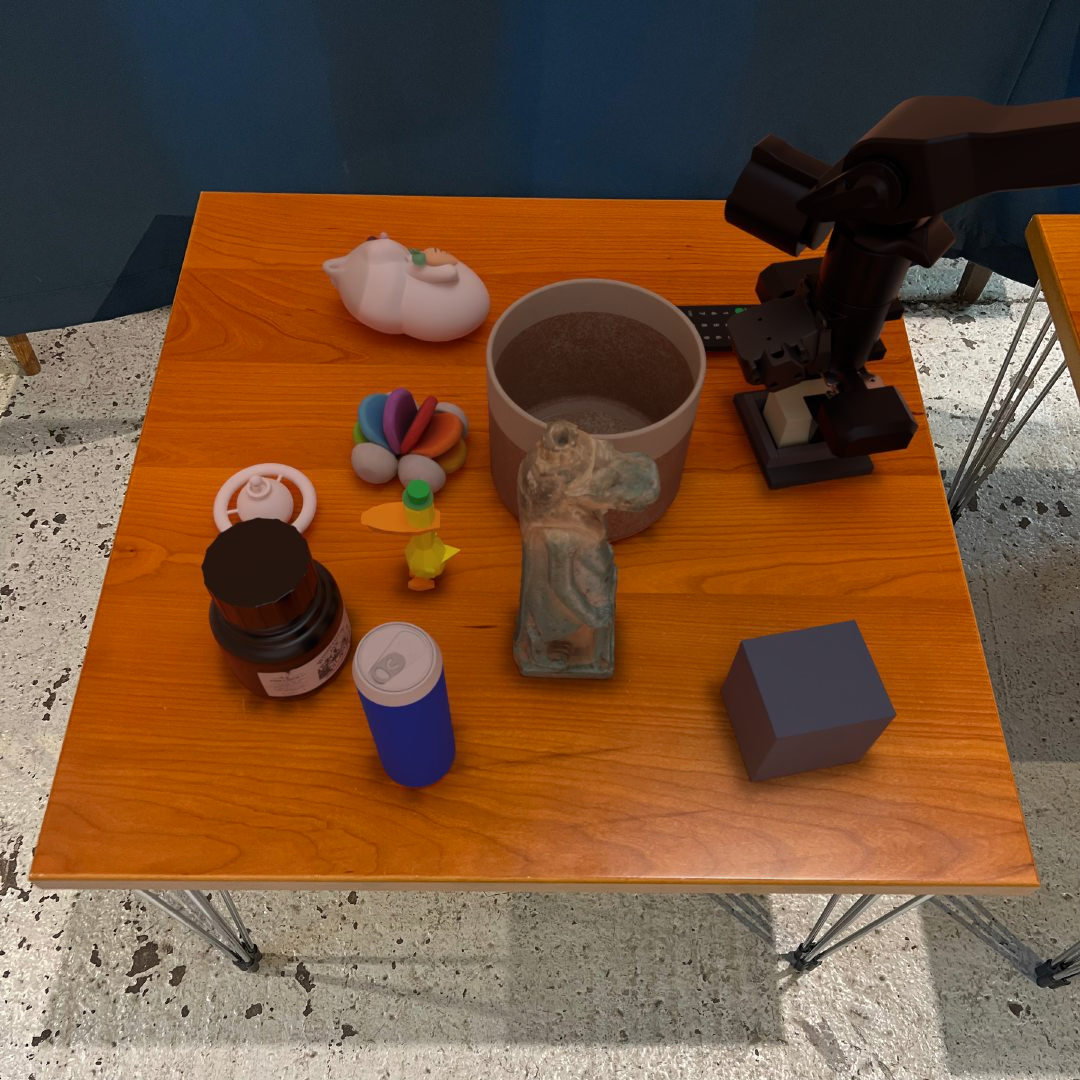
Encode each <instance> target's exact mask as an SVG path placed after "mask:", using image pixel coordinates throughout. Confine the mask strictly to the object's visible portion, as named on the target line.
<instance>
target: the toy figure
mask: <svg viewBox="0 0 1080 1080" xmlns="http://www.w3.org/2000/svg"><path fill="white" fill-rule="evenodd" d="M441 522H442V513H441V511H440V510H438V509H437V508H435V503H434V493H432V492H431V490H430V487H429V485H428V483H427V482H425V481H423V480H420V479H418V480H414V481H410V483H409V484H408V486H407V488H405V489H404V490H403V492H402V495H401V501H397V502H385V503H383V504H379V505H375V506H372V507H371V508H369V509H366V510H365V511H363V512H362V513H361V517H360V524H362V525H364V526H366V527H368V528H369V529H370V530H372V531H373V532H376V533H380V534H385V535H391V536H392V535H393V536H405V537H406V536H407V537H408V536H409V537H411V539H410V540H409V542H408V543H407V546H406V547H405V549H404V556H405V561H406V564H407V566H408V569H409V571H408V576H409V577H410V578H412V579H411V580H408V581H407V587H408V590H412V591H416V592H419V591H420V592H421V591H426V590H430V589H434V588H435V587H436V583H435V580H433V579H436V578H437V577H438V576H440V575H441V574H442V573H443V571H444V569H445V567H446V565H447V564H448V561H450V560H451V559H452V558H453V557H454V556H456V554H458V553H459V552H460V551H461V549H459V548H457V547H454V546H452V545H451V546H450V545H448V544H445V543H444V541H442V538H441V537H438V532H436V530H439V529H441V524H442V523H441Z"/></svg>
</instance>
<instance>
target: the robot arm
mask: <svg viewBox="0 0 1080 1080" xmlns="http://www.w3.org/2000/svg"><path fill="white" fill-rule="evenodd" d="M1073 186H1074V187H1075V186H1080V96H1078V97H1071V98H1064V99H1059V100H1058V99H1057V100H1049V101H1044V102H1036V103H1029V104H1023V105H1022V104H1021V105H997V104H992V103H990V102H987V101H984V100H982V99H979V98H976V97H973V96H968V95H967V96H963V95H917V96H914V97H911V98H908V99H905V100H904V101H902V102H900V103H898V104H897V105H896V106H895V107H894V108H893V109H892V110H891V111H890V112H888V113H887V115H885V116H884V117H883V118H882V119H880V120H879V121H878V122H877V124H875V125H874V126H873V127H871V129H869V130H868V132H866V133H865V134H864V135H863V136H862V137H861V138H860V139H859V140H857V142H855V143H854V144H853V145H852V146H851V147H850V149H849V151H848V152H847V153H846V154H845V155H843V156H842V157H841V158H840V159H839V160H838V161H837V162H836V163H835V164H833V165H831V164H829V163H827V162H825V161H823V160H821V159H818V158H816V157H814V156H812V155H810V154H808V153H806V152H804V151H801V150H799V149H798V148H795V146H794V147H793V146H792V145H791V144H789V143H788V142H787V141H785V140H784V139H783V138H780V137H778V136H776V135H774V134H773V133H769V134H767V135H766V136H765V137H764V138H762V139H761V140H760V141H759V142H758V143H756V144H755V145H754V146H753V147H752V151H751V155H750V158H749V161H747V163H746V164H745V166H744V167H743V169H742V171H741V173H740V175H739V176H738V178H737V180H736V181H735V184H734V186H733V188H732V191H731V192H730V193H729V194H728V196H727V197H726V200H725V203H724V211H723V216H724V220H725V223H728V224H729V225H731V226H733V227H735V228H737V229H739V230H741V231H743V232H745V233H747V234H749V235H750V236H752V237H754V238H756V239H758V240H760V241H762V242H764V243H766V244H768V245H770V246H771V247H774V248H775V249H777V250H779V251H780V252H783V253H785V254H786V255H789V256H791V257H795V258H796V259H794V260H787V261H786V260H785V261H778V262H773V263H770V264H769V265H768V266H766V267H765V268H764V269H763V270H761V271H760V272H759V273H758V277H757V281H756V283H755V288H754V292H755V294H756V296H757V298H758V300H759V302H760V303H759V304H760V305H757V306H755V307H752V308H749V309H747V310H744V311H742V312H739V313H737V314H735V315H733V316H732V317H730V319H729V320H728V322H727V329H728V333H729V337H730V341H731V345H732V349H733V352H732V353H733V355H734V357H735V359H736V361H737V364H738V366H739V368H740V371H741V373H742V376H743V378H744V381H745V382H746V383H747V384H748V385H750V386H755V387H757V386H764V389H766V390H767V392H771V393H776V392H778V391H781V390H784V389H786V388H789V387H792V386H794V385H797V384H799V383H801V382H802V381H807V380H814V379H820V378H823V380H824V382H825V385H826V386H827V387H831V390H832V391H830V390H828V391H826V393H823V394H816V395H810V396H803V399H804V401H805V403H806V405H807V407H808V410H809V412H810V414H811V416H812V421H811V425H810V429H809V436H808V442H809V444H813V443H819V442H823V441H826V443H827V445H828V447H829V449H830V451H831V454H832V455H835V456H837V457H839V458H841V459H845V458H851V457H857V456H864V455H869V456H870V455H875V454H876V455H877V454H884V453H889V452H894V451H895V452H896V451H899V450H900V451H901V450H906V449H907V450H908V447H909V445H910V443H911V441H912V440H913V438H914V436H915V434H916V432H917V431H918V429H919V427H920V425H919V423H918V421H917V420H916V418H915V415H914V414H913V412H912V411H911V409H910V407H909V405H908V403H907V401H906V400H905V398H904V395H903V394H902V391H900V389H898V388H897V387H896V386H895V385H893V384H891V385H886V384H885V383H884V381H883V380H882V377H880V376H879V375H878V374H876V373H871V372H870V371H869V370H868V369H867V366H866V364H867V363H868V362H869V363H870V362H877V361H883V360H884V358H885V357H886V354H887V351H888V349H887V348H886V346H885V344H884V342H883V340H882V338H881V335H882V332H883V330H884V328H885V326H886V323H887V322H892V321H899V320H902V317H903V315H904V313H905V310H906V308H905V306H904V304H903V302H902V301H901V299H900V298H899V296H898V295H899V292H900V290H901V288H902V286H903V283H904V280H905V279H906V275H907V274H908V271H909V269H910V267H911V264H912V263H913V264H916V265H917V266H919V267H920V268H921V267H922V268H924V269H926V270H927V269H931V268H933V267H934V265H935V264H937V262H938V261H939V260H940V258H942V256H943V255H944V254H945V253H946V252H947V251H948V250H949V249H950V248H951V247H952V246H953V245H954V243H955V242H956V239H957V238H956V235H955V233H954V232H953V231H952V229H951V227H950V226H949V225H948V224H947V223H946V222H945V221H944V219H943V213H945V212H947V211H949V210H952V209H955V208H957V207H959V206H961V205H962V206H963V205H964V204H966V203H968V202H972V201H973V200H975V199H978V198H981V197H985V196H988V195H992V194H997V193H1004V192H1015V191H1028V190H1039V189H1050V188H1063V187H1073ZM829 235H830V237H829ZM828 237H829V240H828V242H827V246H826V249H825V252H824V255H823V256H818V257H808V258H801V259H797V258H798V257H799V256H800V255H801V254H802V252H804V251H805V250H806V249H807V248H808V249H810V250H811V251H815V250H817V249H819V248H820V247H821V246H822V245H823V243H824V242H825V241H826V240H827V238H828Z"/></svg>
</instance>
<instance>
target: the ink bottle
mask: <svg viewBox="0 0 1080 1080" xmlns="http://www.w3.org/2000/svg"><path fill="white" fill-rule="evenodd" d="M232 525H233V526H231V527H230V528H228V529H227V530H225V531H223V532H219V533H218V534H217V535H216V537H215V538H214V540H213V541H212V542H211V544H209V546H208V547H207V548H206V549H205V554H204V558H203V562H202V563H201V566H200V567H201V571H202V577H203V584H204V586H205V588H206V590H207V591H208V594H209V596H210V597H211V600H210V603H209V609H208V621H209V627H210V630H211V633H212V636H213V638H214V640H215V641H216V643H217V645H218V647H219V649H220V651H221V652H222V654H223V656H224V658H225V659H226V661H227V663H228V664H229V666H230V668H231V671H232V672H233V673H234V675H235V677H236V678H237V680H238V681H239V682H240V683H241V684H242V685H243V686H244V687H245V688H247V689H248V690H249V691H251V692H252V693H255V694H256V695H258V696H260V697H262V698H263V697H264V698H266V699H270V700H275V701H295V700H301V699H304V698H306V697H310V696H312V695H314V694H315V693H317V692H319V691H320V690H322V689H323V688H325V687H326V686H327V685H329V684H330V683H331V682H332V681H333V680H334V679H335V678H336V677H337V676H338V675H339V674H340V672H341V671H342V669H343V668H344V667H345V665H346V663H347V661H348V659H349V657H350V654H351V651H352V645H353V631H352V626H351V622H350V619H349V616H348V612H347V609H346V606H345V602H344V600H343V599H344V598H343V596H342V593H341V590H340V588H339V587H340V586H339V584H338V582H337V580H336V578H335V577H334V575H333V574H332V573H331V571H329V569H328V568H327V567H326V566H325V565H324V564H322V563H321V562H320V561H319V560H317V559H315V558H314V557H313V555H312V551H311V548H310V546H309V543H308V540H307V538H306V537H304V536H303V534H301V533H300V532H299V531H298V530H297V528H296V527H295V526H293V525H292V524H290V523H285V522H283V521H281V520H280V519H269V518H260V517H258V518H254V519H251V520H247V521H243V522H242V521H238V522H235V523H234V524H232Z"/></svg>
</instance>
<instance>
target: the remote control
mask: <svg viewBox="0 0 1080 1080" xmlns="http://www.w3.org/2000/svg"><path fill="white" fill-rule="evenodd" d="M760 304H761V303H759V304H757V303H756V304H755V303H754V304H752V303H751V304H690V305H687V304H686V305H685V304H683V305H675V306H676V307H677V308H678V309H680V310H681V311H682V312H683V313H684V314H685V315H686V316H687V317H688V319H689V320H690V321H691V322H692V324H693V325H694V326H695V328H696V330H697V331H698V333H699V335H700V337H701V340H702V342H703V345H704V349H705V353H722V352H723V353H725V352H727V353H729V352H731V353H733V349H732V345H731V341H730V337H729V333H728V329H727V322H728V320H729V319H730V317H732V316H733V315H735V314H737V313H739V312H742V311H744V310H747V309H749V308H752V307H755V306H757V305H760Z"/></svg>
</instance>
